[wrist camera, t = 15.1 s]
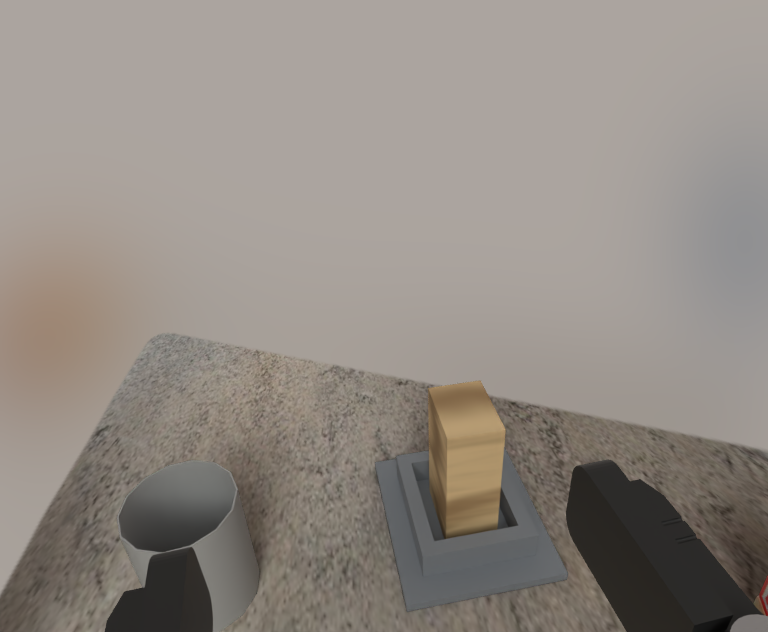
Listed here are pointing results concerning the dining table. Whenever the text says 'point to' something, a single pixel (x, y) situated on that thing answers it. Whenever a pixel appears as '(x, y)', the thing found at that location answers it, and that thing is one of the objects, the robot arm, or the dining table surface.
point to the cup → (194, 531)
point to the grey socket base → (462, 540)
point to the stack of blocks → (762, 599)
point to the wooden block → (465, 458)
